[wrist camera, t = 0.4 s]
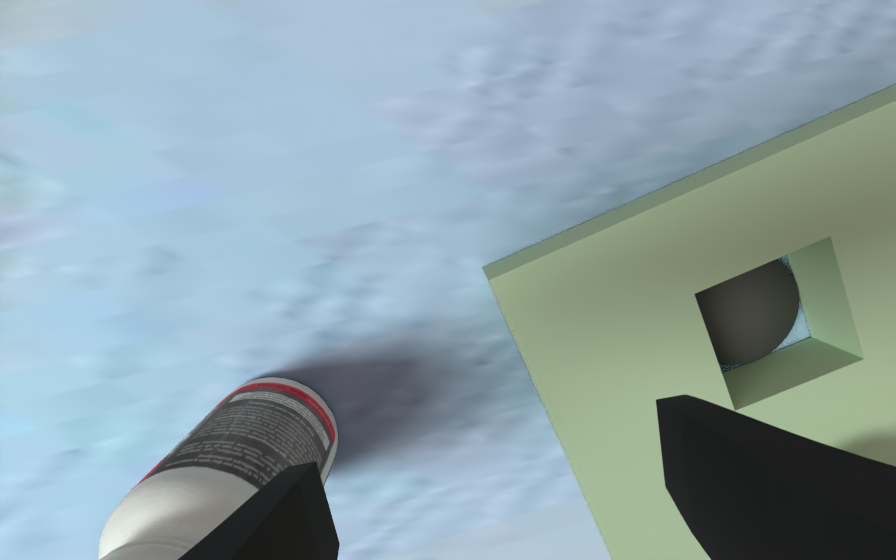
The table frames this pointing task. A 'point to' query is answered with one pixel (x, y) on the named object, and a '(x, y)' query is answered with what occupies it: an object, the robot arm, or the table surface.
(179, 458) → the pill bottle
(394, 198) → the table surface
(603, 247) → the putting mat
